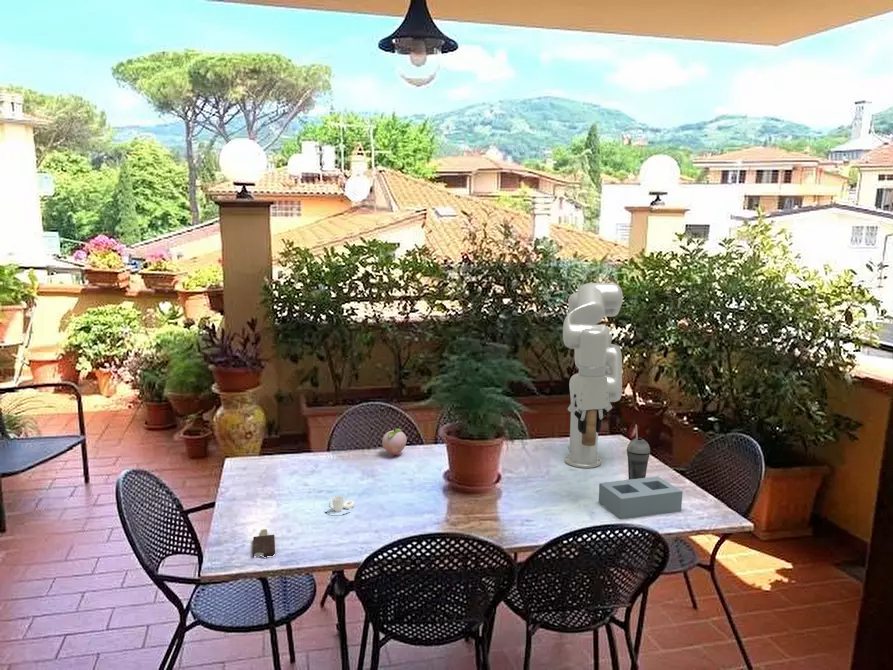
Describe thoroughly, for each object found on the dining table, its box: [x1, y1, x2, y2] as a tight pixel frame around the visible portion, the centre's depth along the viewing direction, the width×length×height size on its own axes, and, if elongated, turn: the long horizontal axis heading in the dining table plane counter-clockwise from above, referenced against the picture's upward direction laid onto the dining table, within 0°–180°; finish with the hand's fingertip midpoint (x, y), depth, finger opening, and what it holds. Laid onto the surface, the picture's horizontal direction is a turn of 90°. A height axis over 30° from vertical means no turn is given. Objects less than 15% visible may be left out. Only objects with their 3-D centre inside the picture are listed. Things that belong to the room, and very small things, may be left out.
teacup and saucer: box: [328, 495, 355, 512], centre depth 192 cm, size 9×8×4 cm
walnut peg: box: [582, 409, 597, 446], centre depth 197 cm, size 4×4×12 cm
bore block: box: [598, 475, 684, 520], centre depth 196 cm, size 12×20×6 cm, turn 107°
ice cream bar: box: [252, 528, 276, 558], centre depth 171 cm, size 5×2×15 cm
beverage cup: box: [626, 424, 651, 480], centre depth 210 cm, size 7×7×20 cm
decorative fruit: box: [381, 427, 408, 456], centre depth 237 cm, size 9×8×10 cm
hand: (589, 431), depth 197 cm, fingers closed on walnut peg, 4 cm apart
